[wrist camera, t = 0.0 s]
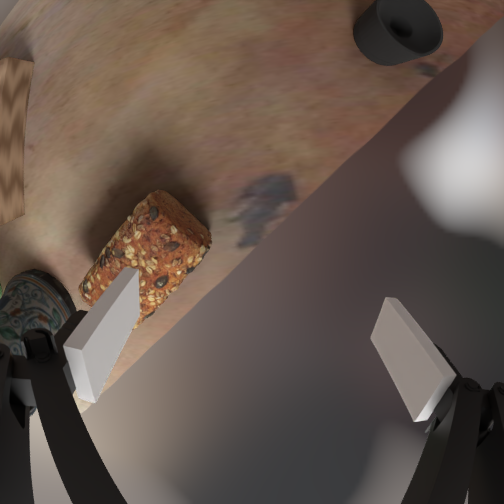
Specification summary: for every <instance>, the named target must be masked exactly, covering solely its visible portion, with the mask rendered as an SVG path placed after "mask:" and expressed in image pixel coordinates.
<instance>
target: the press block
mask: <svg viewBox="0 0 504 504" xmlns="http://www.w3.org/2000/svg"><path fill="white" fill-rule="evenodd" d="M33 68H34V62H29V61H25V60H21V59H16V58H11V57H7V58H4V59H1V60H0V226H1V225H3V224H5V223H7V222H10V221H12V220H14V219H16V218H18V217H20V216H22V215H24V214H25V213H24V188H23V164H24V139H25V126H26V115H27V106H28V98H29V91H30V85H31V79H32V73H33Z"/></svg>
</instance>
